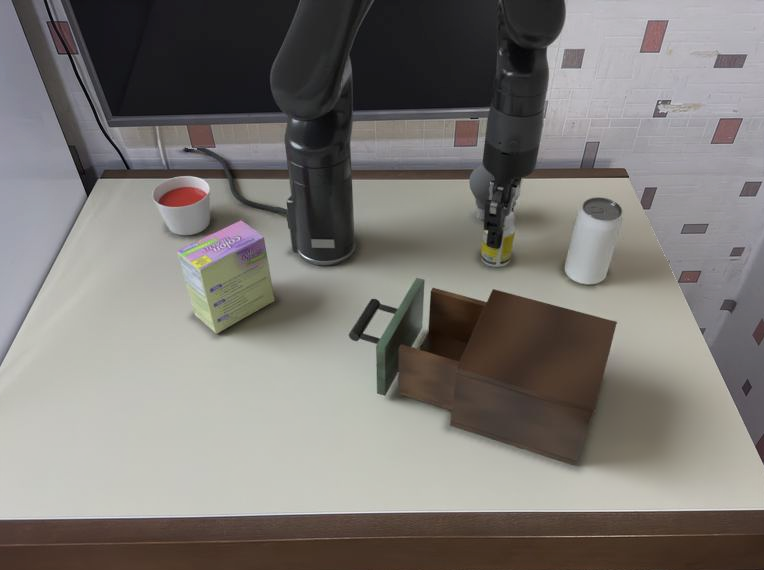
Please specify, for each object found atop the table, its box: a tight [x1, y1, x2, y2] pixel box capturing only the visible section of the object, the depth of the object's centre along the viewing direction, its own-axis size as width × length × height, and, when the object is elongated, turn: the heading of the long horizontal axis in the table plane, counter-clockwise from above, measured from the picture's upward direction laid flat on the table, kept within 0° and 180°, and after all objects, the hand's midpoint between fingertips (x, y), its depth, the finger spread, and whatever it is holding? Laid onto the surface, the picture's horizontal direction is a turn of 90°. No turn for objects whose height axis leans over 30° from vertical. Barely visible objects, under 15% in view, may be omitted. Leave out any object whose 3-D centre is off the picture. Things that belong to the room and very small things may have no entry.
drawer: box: [348, 277, 487, 411], centre depth 87 cm, size 20×14×9 cm
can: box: [564, 196, 623, 286], centre depth 101 cm, size 6×6×12 cm
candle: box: [151, 175, 211, 236], centre depth 110 cm, size 9×9×6 cm
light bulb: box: [468, 163, 495, 221], centre depth 112 cm, size 6×6×10 cm
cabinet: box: [449, 288, 618, 467], centre depth 83 cm, size 16×15×11 cm
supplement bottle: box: [480, 211, 516, 268], centre depth 105 cm, size 5×5×8 cm
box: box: [176, 220, 276, 335], centre depth 94 cm, size 10×6×12 cm, turn 135°
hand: (498, 236), depth 104 cm, fingers closed on supplement bottle, 4 cm apart
